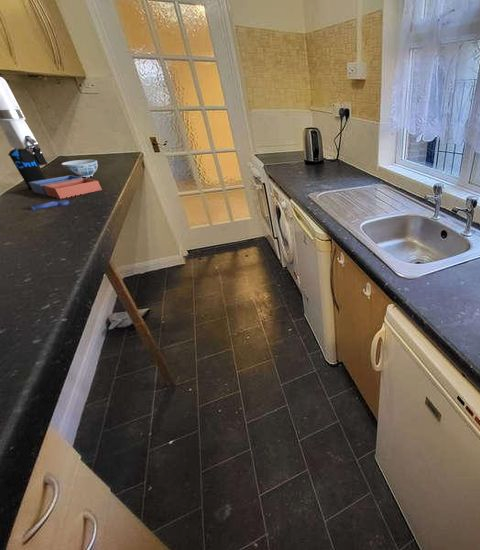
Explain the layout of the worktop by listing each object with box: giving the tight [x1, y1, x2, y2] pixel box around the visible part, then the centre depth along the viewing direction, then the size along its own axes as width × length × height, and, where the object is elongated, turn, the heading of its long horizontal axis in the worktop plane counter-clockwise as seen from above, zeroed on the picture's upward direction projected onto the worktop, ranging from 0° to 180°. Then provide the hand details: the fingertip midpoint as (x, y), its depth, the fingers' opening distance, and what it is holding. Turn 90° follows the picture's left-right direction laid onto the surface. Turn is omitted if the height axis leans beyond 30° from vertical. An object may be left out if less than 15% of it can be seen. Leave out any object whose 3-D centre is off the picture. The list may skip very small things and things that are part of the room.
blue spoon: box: [29, 199, 70, 211], centre depth 122 cm, size 12×4×2 cm, turn 155°
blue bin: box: [29, 174, 83, 196], centre depth 144 cm, size 17×11×5 cm, turn 155°
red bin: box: [43, 177, 103, 200], centre depth 139 cm, size 17×11×5 cm, turn 155°
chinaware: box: [61, 159, 99, 178], centre depth 165 cm, size 15×15×8 cm
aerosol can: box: [7, 148, 47, 190], centre depth 142 cm, size 8×8×20 cm
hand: (35, 163), depth 118 cm, fingers open, 9 cm apart
